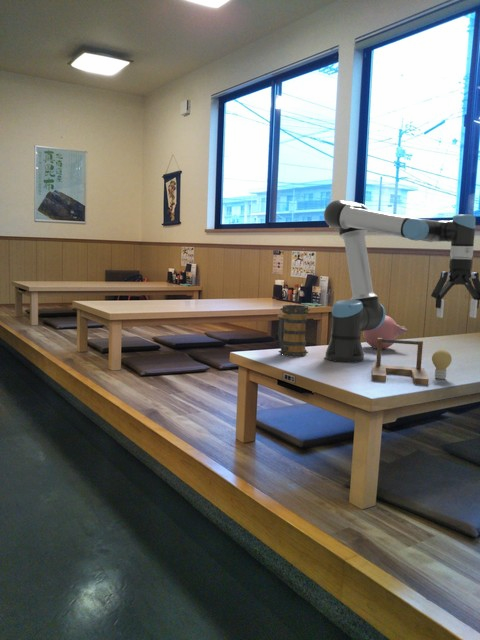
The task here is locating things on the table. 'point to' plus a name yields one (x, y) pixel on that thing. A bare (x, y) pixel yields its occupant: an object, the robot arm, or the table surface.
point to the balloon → (384, 333)
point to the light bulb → (441, 363)
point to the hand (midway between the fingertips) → (456, 317)
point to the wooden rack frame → (416, 372)
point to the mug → (293, 330)
